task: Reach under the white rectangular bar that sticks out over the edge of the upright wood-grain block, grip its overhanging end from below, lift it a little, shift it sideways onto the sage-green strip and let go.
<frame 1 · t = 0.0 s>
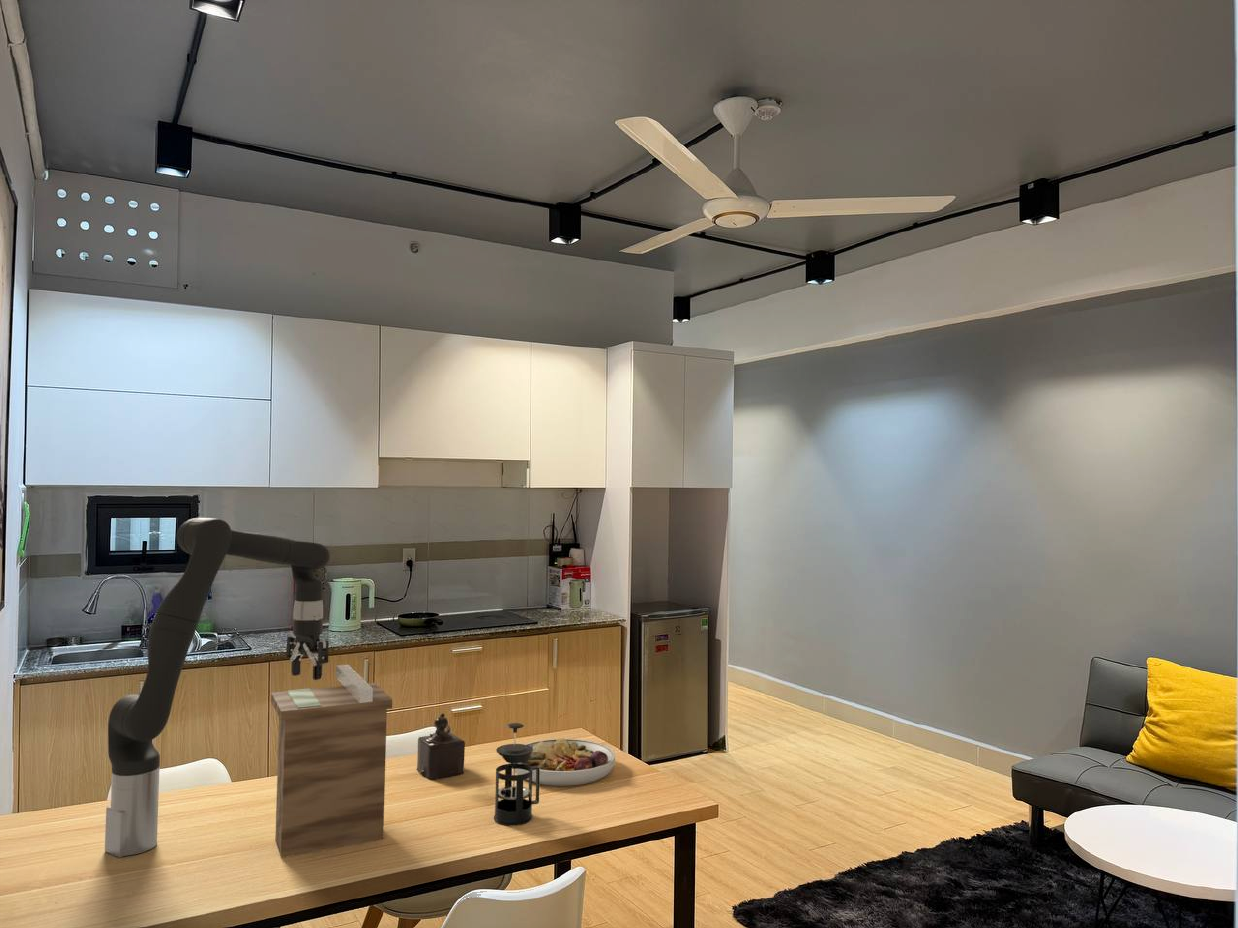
hand: (306, 677, 224), 29 cm above the table, tool pointing down, fingers open, 8 cm apart
french press: (515, 818, 205), on the table
white rectangular bar: (353, 688, 201), point 32 cm above the table, touching upright wood-grain block
manual coffee grinder: (442, 775, 235), on the table
bowl: (563, 772, 240), on the table
upright wood-grain block: (327, 834, 193), on the table
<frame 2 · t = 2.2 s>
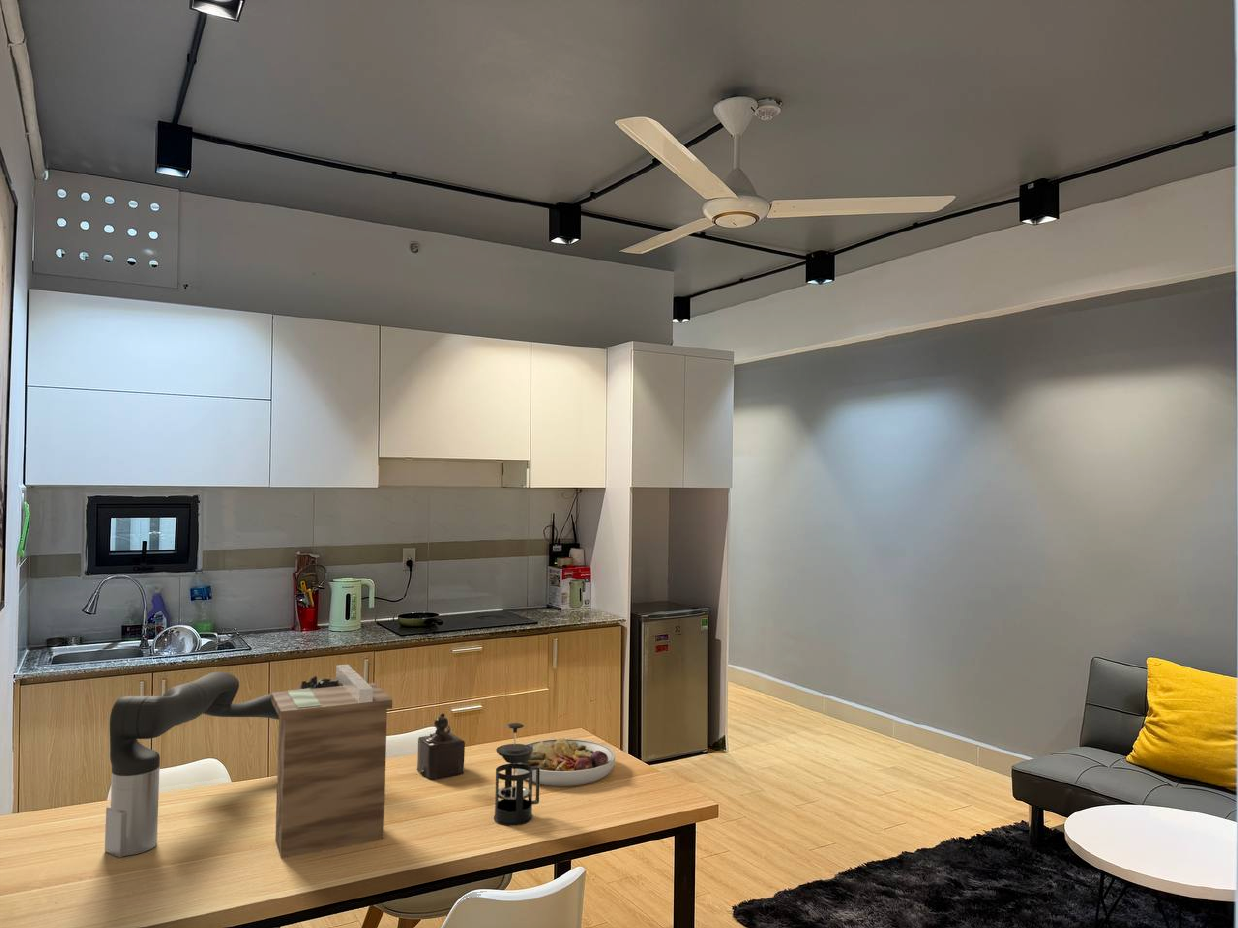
hand: (332, 677, 225), 29 cm above the table, tool pointing upward, fingers open, 8 cm apart
nothing on the table moved.
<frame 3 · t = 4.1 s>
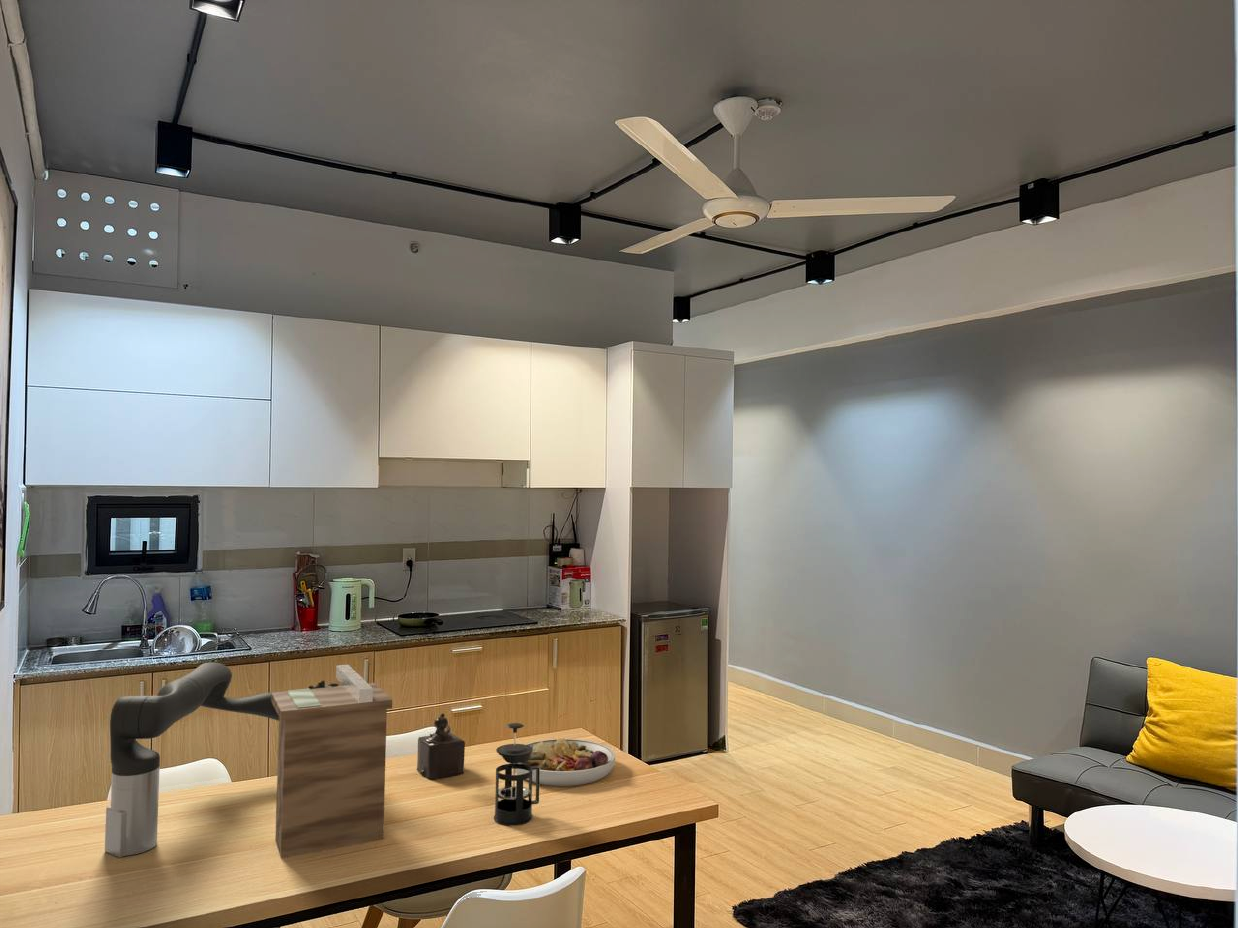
hand: (340, 682, 215), 30 cm above the table, tool pointing upward, fingers open, 8 cm apart
nothing on the table moved.
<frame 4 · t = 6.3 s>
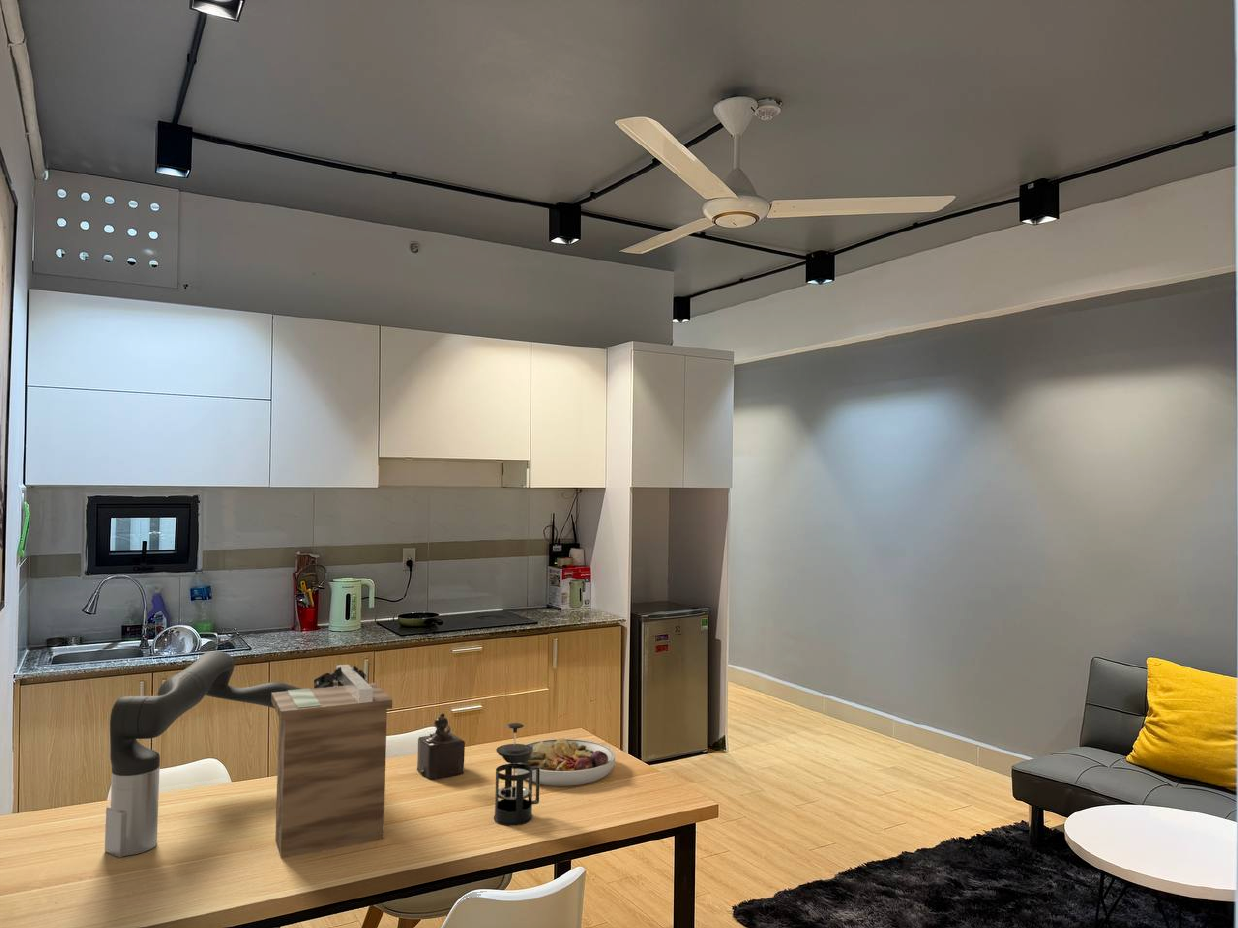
hand: (347, 670, 208), 35 cm above the table, tool pointing upward, fingers closed on white rectangular bar, 3 cm apart
white rectangular bar: (353, 688, 201), point 32 cm above the table, touching gripper, upright wood-grain block
everything else where it was.
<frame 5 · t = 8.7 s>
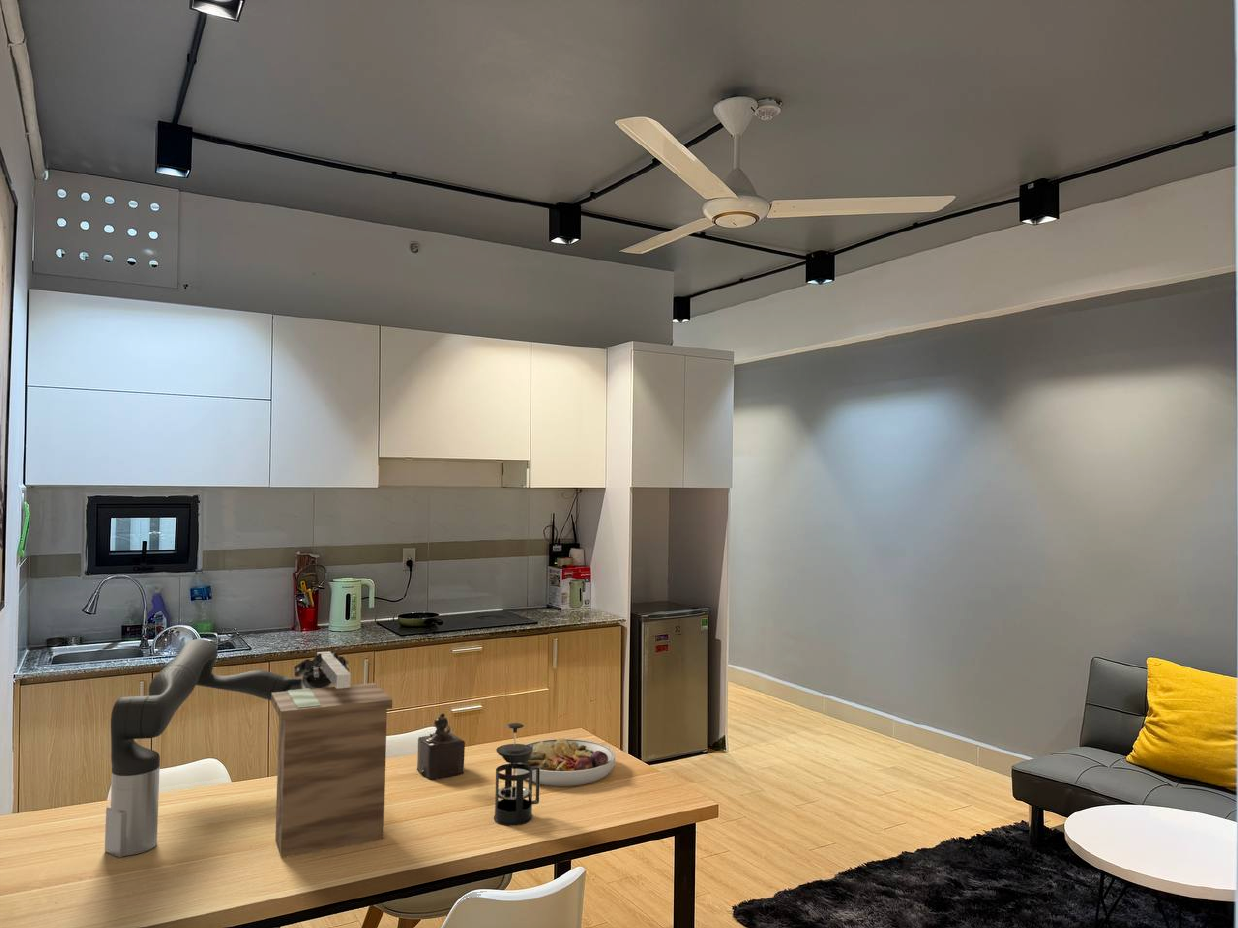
hand: (327, 656, 205), 39 cm above the table, tool pointing upward, fingers closed on white rectangular bar, 3 cm apart
white rectangular bar: (332, 675, 199), point 36 cm above the table, touching gripper
everything else where it was.
when the fingers open (36 cm above the table, at t = 10.9 s): white rectangular bar stays where it is, resting on upright wood-grain block.
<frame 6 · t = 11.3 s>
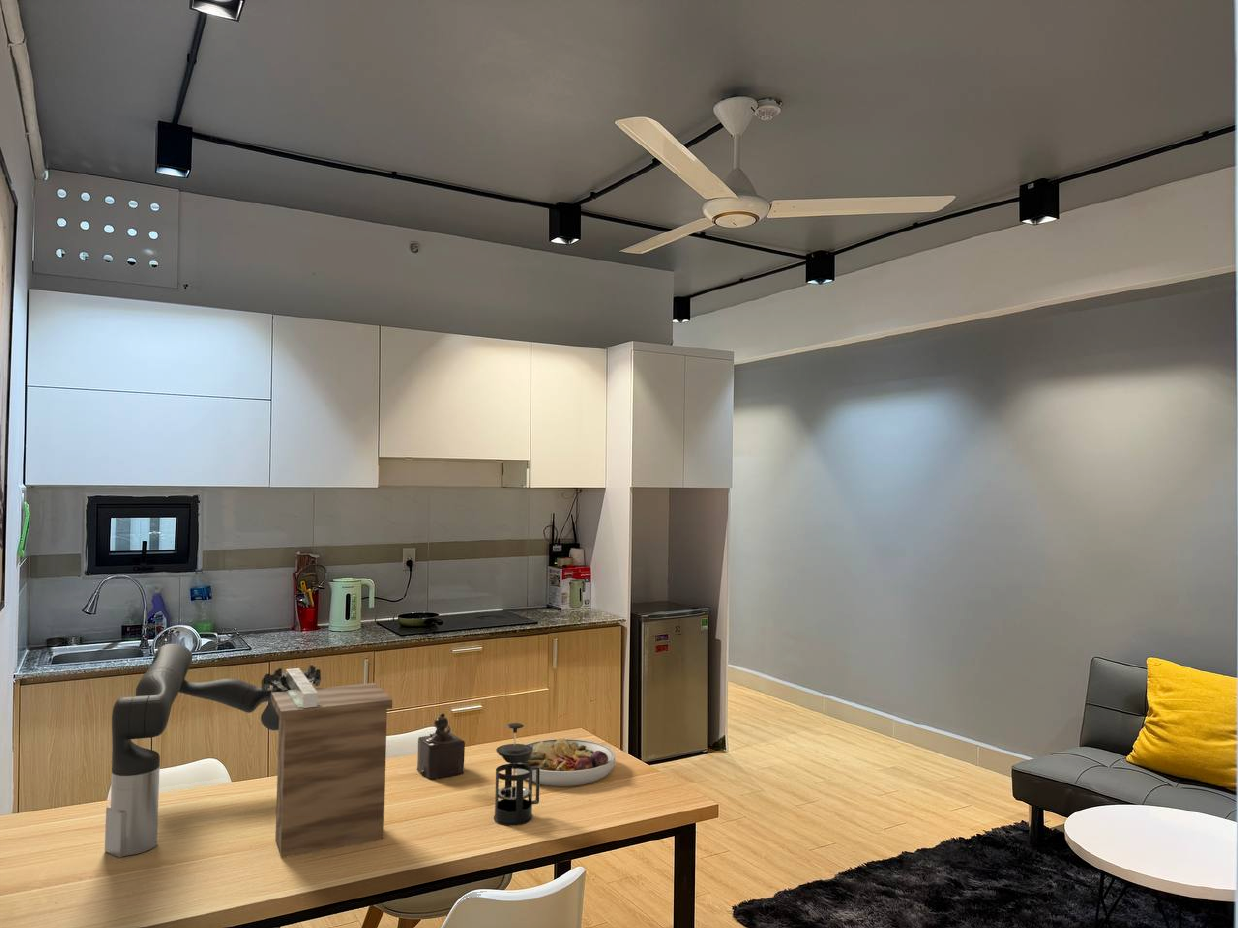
hand: (296, 670, 203), 36 cm above the table, tool pointing upward, fingers open, 6 cm apart
white rectangular bar: (300, 692, 195), point 32 cm above the table, touching upright wood-grain block
everything else where it was.
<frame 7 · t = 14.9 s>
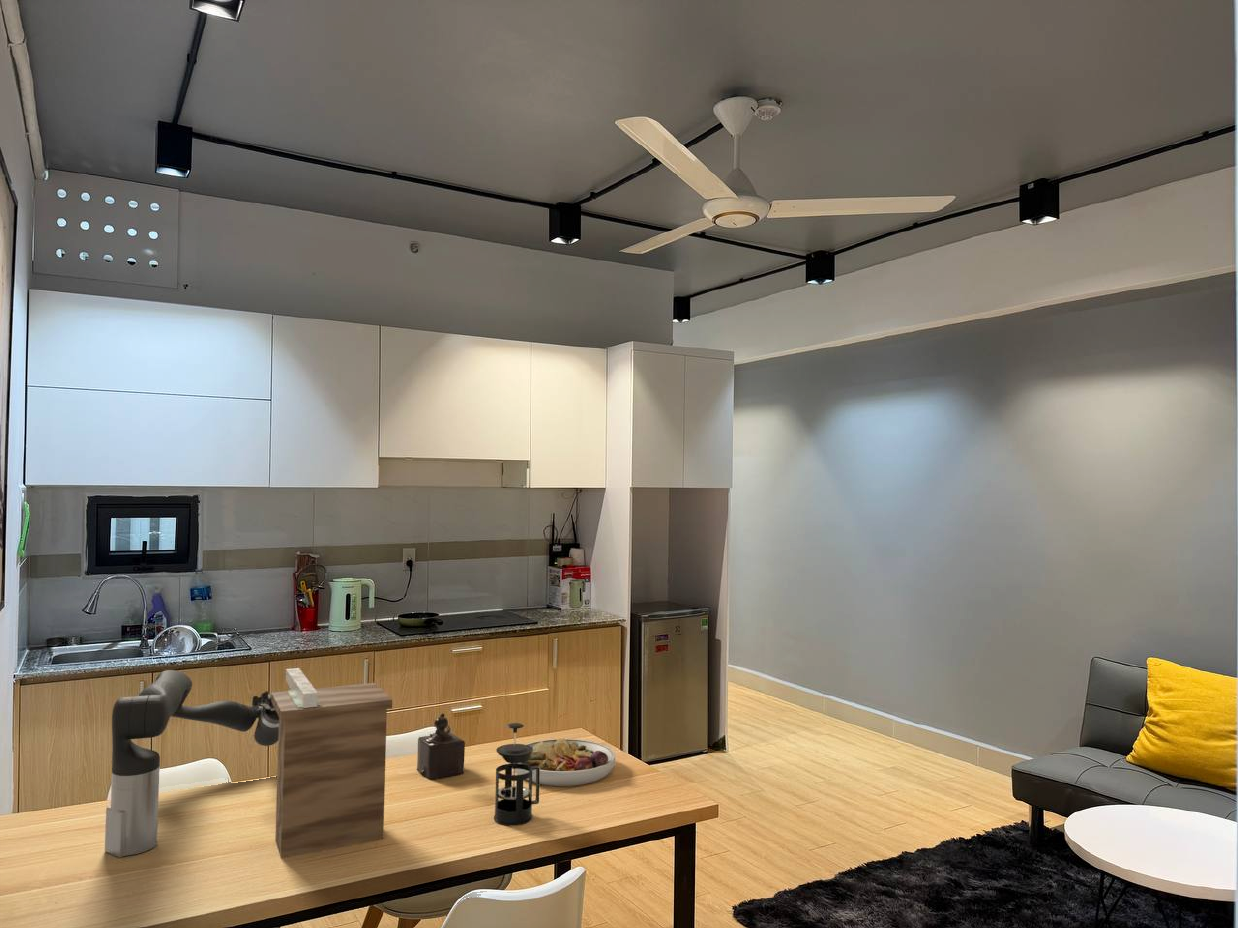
hand: (284, 692, 220), 26 cm above the table, tool pointing upward, fingers open, 8 cm apart
nothing on the table moved.
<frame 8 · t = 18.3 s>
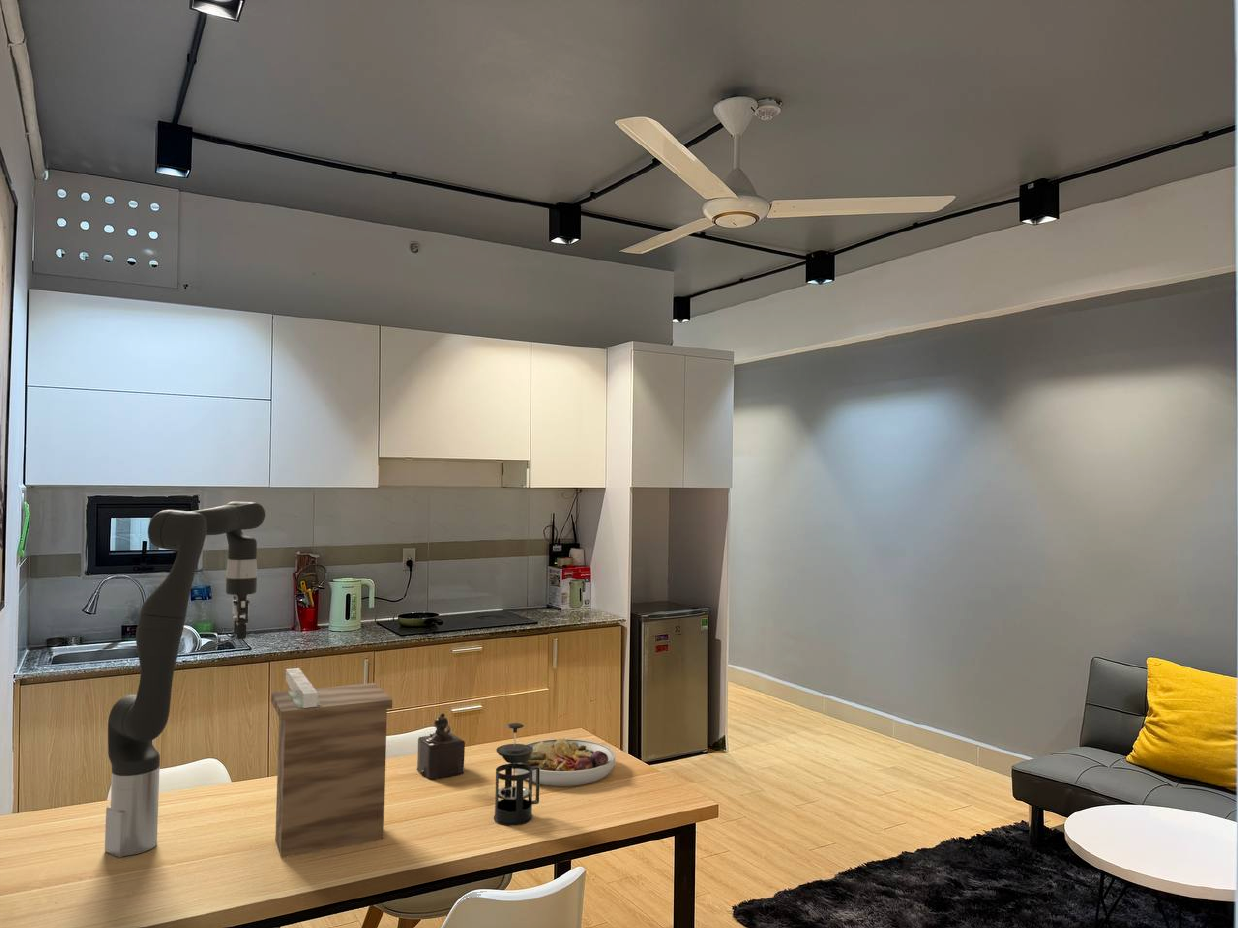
hand: (239, 636, 223), 40 cm above the table, tool pointing down, fingers open, 8 cm apart
nothing on the table moved.
at the end: white rectangular bar 0.2 cm from the target spot on the upright wood-grain block, point 32.2 cm above the upright wood-grain block's base; the gripper is holding nothing; white rectangular bar tilted 0° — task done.
